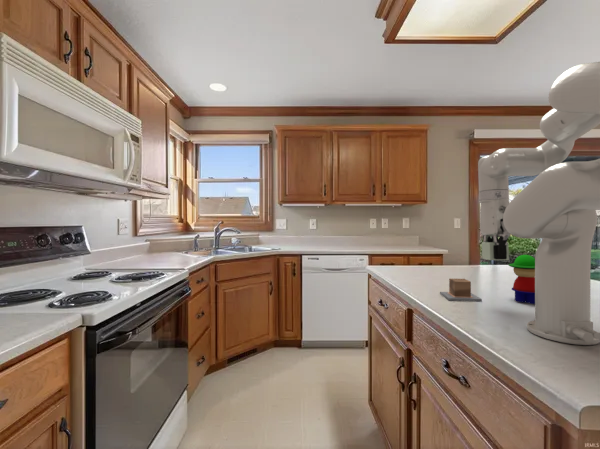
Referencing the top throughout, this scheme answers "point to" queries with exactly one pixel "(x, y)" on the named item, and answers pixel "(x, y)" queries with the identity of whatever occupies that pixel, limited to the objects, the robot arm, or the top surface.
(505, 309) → the top surface
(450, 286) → the walnut block
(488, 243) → the sage block
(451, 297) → the slate board
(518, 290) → the toy
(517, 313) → the top surface
